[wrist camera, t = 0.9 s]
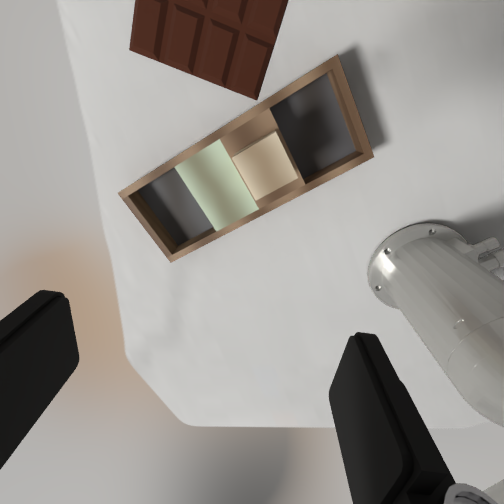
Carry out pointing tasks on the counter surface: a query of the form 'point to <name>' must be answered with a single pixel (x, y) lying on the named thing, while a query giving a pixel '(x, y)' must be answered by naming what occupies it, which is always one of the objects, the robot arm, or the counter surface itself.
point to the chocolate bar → (210, 38)
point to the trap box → (228, 176)
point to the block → (264, 165)
